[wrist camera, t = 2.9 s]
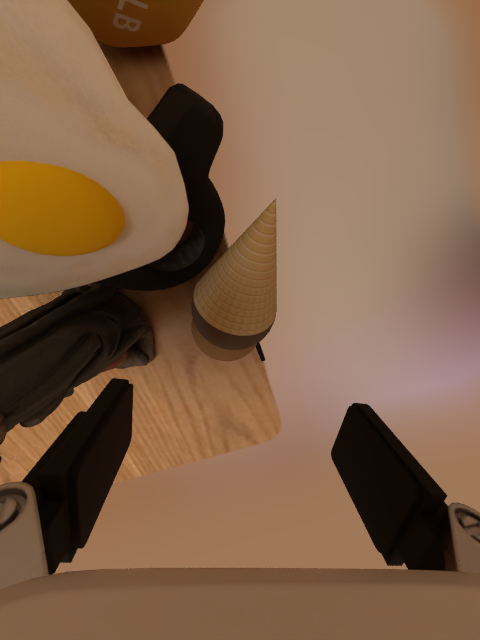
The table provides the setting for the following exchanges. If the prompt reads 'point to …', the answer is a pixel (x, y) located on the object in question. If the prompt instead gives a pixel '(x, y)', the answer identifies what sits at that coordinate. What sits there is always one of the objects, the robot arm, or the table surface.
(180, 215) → the cracked egg
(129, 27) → the dumbbell
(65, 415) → the table surface
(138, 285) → the controller
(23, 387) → the figurine
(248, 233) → the ice cream cone
